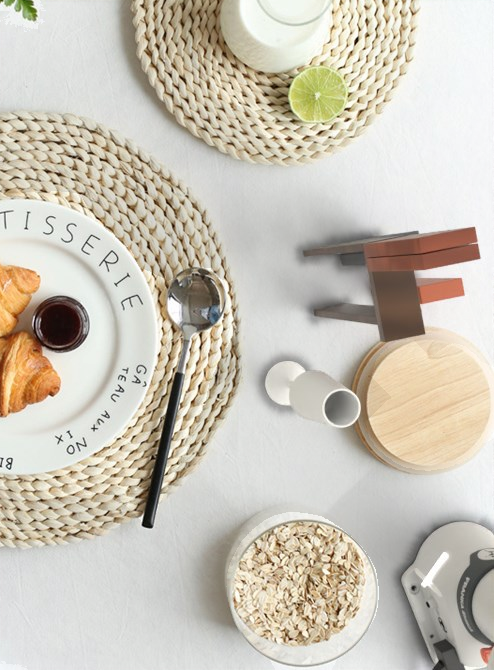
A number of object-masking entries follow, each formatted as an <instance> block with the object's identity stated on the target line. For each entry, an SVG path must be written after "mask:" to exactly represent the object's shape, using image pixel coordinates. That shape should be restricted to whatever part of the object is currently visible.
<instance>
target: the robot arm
mask: <svg viewBox="0 0 494 670" xmlns="http://www.w3.org/2000/svg"><path fill="white" fill-rule="evenodd" d="M400 581H401V585H402V587H403V590H404V593H405V594H406V597H407V599H408V603H409V605H410V607H411V610H412V612H413V615H414V617H415V620H416V622H417V625H418V627H419V630H420V633H421V635H422V638H423V640H424V643H425V645H426V647H427V650H428V653H429V655H430V658H431V660H432V662H433V663H434V666H433V668H431V670H480V669H484V668H486V670H494V533H493V532H492V531H491V530H489V529H488V528H486V527H485V526H483V525H481V524H479V523H476V522H472V521H453V522H450V523H447V524H444V525H442V526H439V527H438V528H437V529H435V530H434V531H433V532H432V533H431V534H429V535H428V537H427V538H425V540H424V542H423V543H422V544H421V546H420V548H419V549H418V552H417V555H416V557H415V560H414V561H413V562H412V564H411V565H409V566H408V568H407V569H406V570H405V571H404V572H403V574H402V576H401V580H400ZM413 586H414V588H412V587H413Z"/></svg>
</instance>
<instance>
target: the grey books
mask: <svg viewBox="0 0 494 670" xmlns="http://www.w3.org/2000/svg"><path fill="white" fill-rule="evenodd" d="M414 234H420V232H419V230H412V231H406V232H398V233H390V234H384V235H376V236H371V237H366V238H361V239H356V240H350V241H346V242H344V243H348V242H356V241H363V240H371V239H379V238H386V237H394V236H402V235H414ZM339 255H340V262H341V266H342V267H353V266H354V267H355V266H367V265H366V260H365V254H364V251H362V252H352V253H341V254H339Z"/></svg>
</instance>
